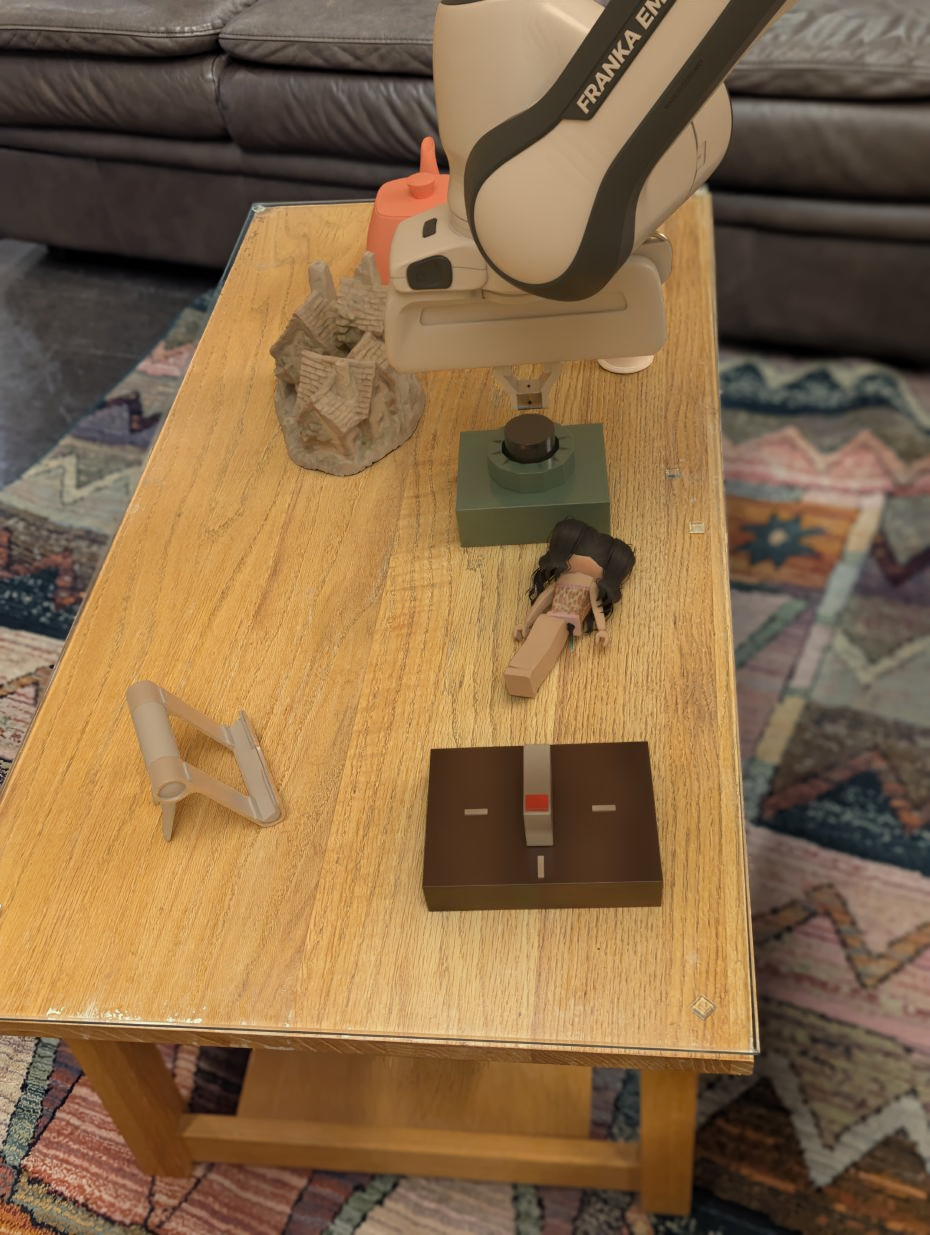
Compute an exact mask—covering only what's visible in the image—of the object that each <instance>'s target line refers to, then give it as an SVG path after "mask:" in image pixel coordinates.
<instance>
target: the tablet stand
mask: <svg viewBox="0 0 930 1235" xmlns="http://www.w3.org/2000/svg"><path fill="white" fill-rule="evenodd" d="M125 698H126V699H125V700H126V704H127V707H128V709H129V710H128V711H129V713H130V718H131V720H132V723H133V727H134V730H135V735H136V738H137V741H138V744H139V748H140V751H141V755H142V758H143V762H144V765H145V770H146V773H147V777H148V779H149V783H150V792H151V797H152V800H153V804H154V806H158V805H160V808H161V811H162V812H161V813H162V820H161V832H162V835H163V838H164V842H170V841H171V838H172V834H173V833H172V832H173V828H174V820H175V815H176V809H177V802H179V801H181V800H183V799H184V798H186V797H188V796H189V795H191V794H193V793H198V794H201V795H203V796H205V797H207V798H209V799H211V800H212V801H214V802H216V803H218V804H219V805H222V806H224V807H226V808H227V809H229V810H231V811H233V812H234V813H236V814H238V815H240V816H241V817H244V818H245V819H247V820H249V821H251V822H253V823H254V824H256V825H258V826H260V827H264V828H267V827H269V828H270V827H273V826H276V825H278V824H279V823H280V822H282V821H283V820H284V819H285V817H286V813H287V812H286V809H285V807H284V804H283V802H282V799H281V796H280V794H279V791H278V789H277V786H276V784H275V781H274V778H273V775H272V774H271V771H270V767H269V765H268V763H267V760H266V757H265V755H264V752H263V749H262V747H261V744H260V742H259V740H258V737H257V735H256V732H255V730H254V727H253V725H252V722H251V719H250V716H248V714H247V713H246V711H245V710H244V709H241V710H239V711H238V715H239V719H237V720H236V721H234V722H233V723H232V724H231V725H229V726H228V725H226V724H224V723H222V724H221V723H219V722H218V721H216V720H214V719H213V718H211V717H210V716H208V715H207V714H205V713H204V712H202V711H200V710H199V709H197V708H195V707H194V706H193V705H191V704H189V703H188V702H187V701H185V700H183V699H182V698H180V697H178V696H177V695H175V694H173V693H172V692H171V691H169V690H168V689H165V688H163V687H162V686H160V685H159V684H157V683H156V682H155V681H153V680H146V679H145V680H144V679H143V680H139V681H137V682H134V683H133V684H131V685H130V686H129V687H127V689H126V692H125ZM169 716H174V717H177V718H178V719H180V720H181V721H183V722H184V723H186V724H187V725H189V726H191V727H193V728H194V729H196V730H198V731H199V732H201V733H203V734H204V735H206V736H208V737H209V738H210V739H212V740H214V741H215V742H217V743H219V744H220V745H222V746H223V747H225V748H227V749H229V750H230V751H231V752H233V755H234V758H235V760H236V763H237V766H238V769H239V772H240V774H241V777H242V779H243V783H244V785H245V788H246V791H247V793H248V796H247V795H245V794H243V793H242V792H239V791H238V790H237V789H235V788H233V787H231V786H229V785H228V784H226V783H224V782H222V781H221V780H218V779H217V778H215V777H214V776H211V775H210V774H208V773H207V772H205V771H203V770H201V769H199V768H198V767H196V766H194V765H192V764H191V763H188V762H187V761H185V760H183V759H182V755H181V752H180V749H179V746H178V743H177V741H176V737H175V733H174V731H173V727H172V724H171V721H170V718H169Z"/></svg>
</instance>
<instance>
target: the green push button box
mask: <svg viewBox="0 0 930 1235" xmlns="http://www.w3.org/2000/svg"><path fill="white" fill-rule="evenodd" d="M552 422H553V423H554V426H555V443H556V450H555V452H554V454H553V456H552V457H551V458H550V459H547V460H545V461H543V462H540V463H532V464H521V463H517V462H514V461H512V460H510V459H509V458H508V457H507V455H506V451H505V440H504V427H505V425H502V426H500V427H499V428H497V429H481V430H464V431H459V436H458V437H459V438H458V439H459V440H458V455H457V457H458V458H457V476H456V477H457V478H456V496H455V515H456V523H457V528H458V529H457V530H458V537H459V542H460V543H459V545H460V547H461V548H469V547H470V548H472V547H489V546H490V547H491V546H509V545H510V546H511V545H528V544H529V545H530V544H545V543H546V544H550V539H551V536H552V533H551V531H552V530H553V529H554V528H555V525H556V524H557V523H558V522H560V521H563V520H564V519H565V518H566V516H568V515H571V516H572V517H571V516H568V517H567V519H575V520H579V521H583V522H584V523H587V524H588V526H591V527H593V528H595V529H596V530H598V532H599V533H600V534H601V533H605V534H608V535H611V495H610V484H609V472H608V463H607V454H606V453H607V452H606V451H607V450H606V443H605V442H606V441H605V431H604V423H603V422H594V423H593V422H591V423H577V424H561V423H558V422H555V421H552ZM573 517H574V518H573ZM567 519H566V520H567ZM552 532H553V531H552ZM550 533H551V535H550ZM549 535H550V537H549ZM548 537H549V539H548ZM547 540H548V542H547Z"/></svg>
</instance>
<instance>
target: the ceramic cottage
mask: <svg viewBox="0 0 930 1235" xmlns="http://www.w3.org/2000/svg"><path fill="white" fill-rule="evenodd" d="M307 274H308V275H307V276H308V277H307V278H308V284H309V290H310V292H309V294H308V295H307V296H306V298H305V299H304V301H303V303H302V304H300V305H299V306H298V307H297V308H296V309H295V310H294V311H293V313H292V316H291V318H290V319H289V321H288V324H287V325H286V326H285V329H284V331H283V332H282V334H280V335H279V337H278V339H277V340H276V341H275V342H274V343H273V344H272V345H271V346H270V348H269V354H270V356H271V357H272V358H273V359H274V365H275V368H273V374H274V377H275V378H277V385H276V387H275V389H274V390H275V392H274V393H275V394H274V399H273V400H274V408H275V411H276V412H275V413H276V415H277V418H278V421H279V424H280V427H281V428H280V430H281V431H282V434H283V438H284V442H285V448H286V450H287V456H288V457H289V458H290V460H291V461H292V462H293V463H294V464H295V465H297V466H299V467H303V468H304V469H308V470H309V471H310V470H313V471H316V469H317V470H319V471H322V472H324V473H325V474H328V473H329V474H331V475H333V476H336V477H337V476H339V477H342V478H344V477H345V476H352V475H357V474H358V473H359V472H363V471H365V470H366V469H367V468H366V467H370V466H372V465H373V464H372V463H376V462H377V461H378V462H379V461H381V459H383V458H384V457H385V456H386V455H388V454H389V453H391V452H392V451H393V450H396V449H397V448H398V447H402V446H403V445H404V443H405V442H406V441H408V439H410V437H411V436H412V435H413V433H415V430H416V428H417V427H418V422H419V420H421V419H422V416H423V413H424V410H425V407H424V406H425V404H426V394H425V392H424V391H423V389H422V383H421V381H420V380H419V378H418V376H417V373H409V374H401V373H399V372H398V371H397V370H395V369H394V368H393V367H392V366H391V365H390V364H389V363H388V360H387V355H386V347H385V333H384V317H385V305H386V297H387V291H388V285H382V283H381V277H380V275H379V272H378V270H377V268H376V264H375V254H374V253H372V252H370V251H366V250H365V252H364V253H363V254H362V258H361V261H360V262H359V263H357V264H356V265H355V269H354V274H353V276H352V277H349V276H345V275H342V276H340V283H339V285H338V292H337V290H336V286H335V285H334V280H333V276H332V272H331V270H330V267H329V264H328V263H326V261H325V260H322V259H314V260H313V261H311V262H310V263H309V266H308V268H307Z"/></svg>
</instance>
